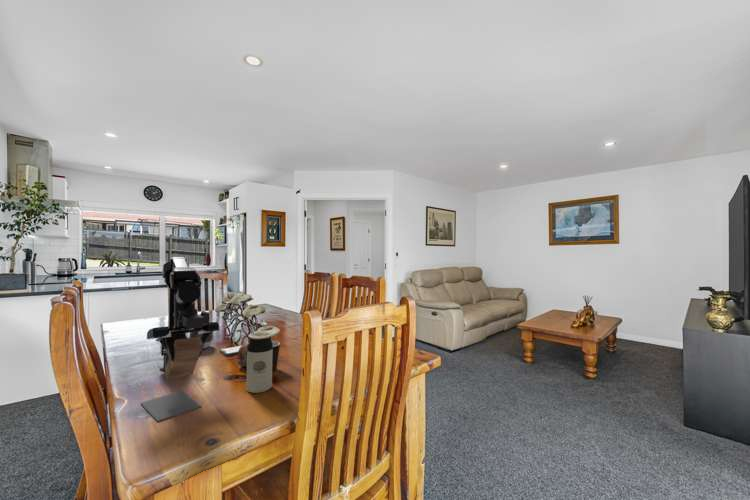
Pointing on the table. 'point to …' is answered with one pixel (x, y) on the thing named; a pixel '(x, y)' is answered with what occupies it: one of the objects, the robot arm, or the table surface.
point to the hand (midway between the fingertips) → (185, 358)
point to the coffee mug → (275, 355)
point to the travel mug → (259, 362)
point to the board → (184, 357)
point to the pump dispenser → (207, 341)
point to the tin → (242, 355)
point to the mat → (170, 405)
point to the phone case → (230, 351)
